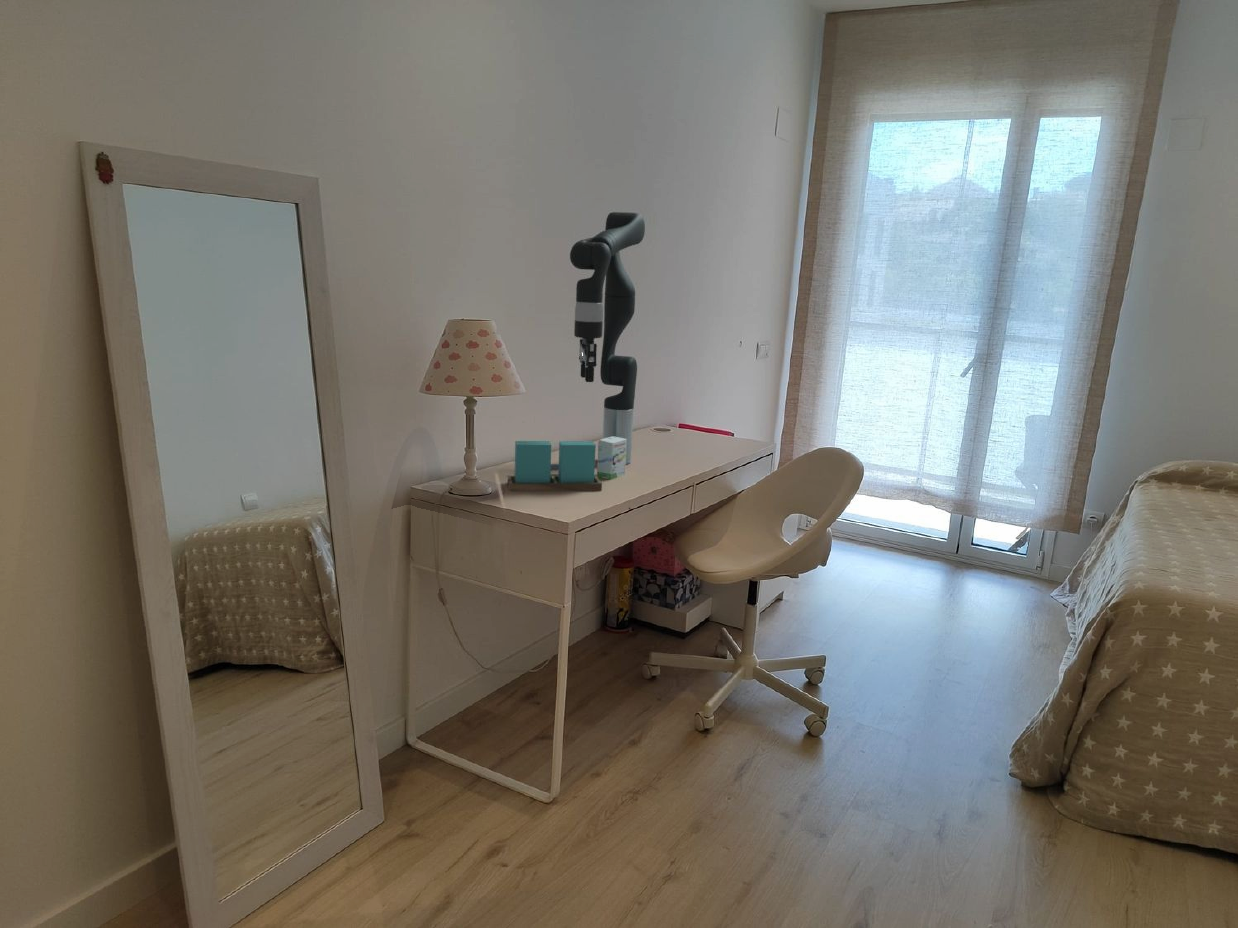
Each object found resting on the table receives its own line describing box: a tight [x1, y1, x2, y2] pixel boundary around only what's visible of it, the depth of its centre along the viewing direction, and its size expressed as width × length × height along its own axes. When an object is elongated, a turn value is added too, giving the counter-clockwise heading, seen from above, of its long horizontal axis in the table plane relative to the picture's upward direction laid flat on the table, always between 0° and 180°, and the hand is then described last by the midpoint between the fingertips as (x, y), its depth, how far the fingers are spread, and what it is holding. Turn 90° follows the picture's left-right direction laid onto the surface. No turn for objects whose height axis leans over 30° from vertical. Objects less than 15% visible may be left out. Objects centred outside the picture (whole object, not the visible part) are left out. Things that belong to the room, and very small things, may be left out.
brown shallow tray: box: [506, 474, 603, 492], centre depth 215 cm, size 9×24×3 cm, turn 102°
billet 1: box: [514, 440, 552, 483], centre depth 212 cm, size 5×9×12 cm, turn 102°
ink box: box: [596, 436, 627, 481], centre depth 229 cm, size 8×5×12 cm, turn 150°
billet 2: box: [557, 440, 597, 483], centre depth 215 cm, size 5×9×12 cm, turn 102°
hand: (586, 379), depth 218 cm, fingers open, 8 cm apart
